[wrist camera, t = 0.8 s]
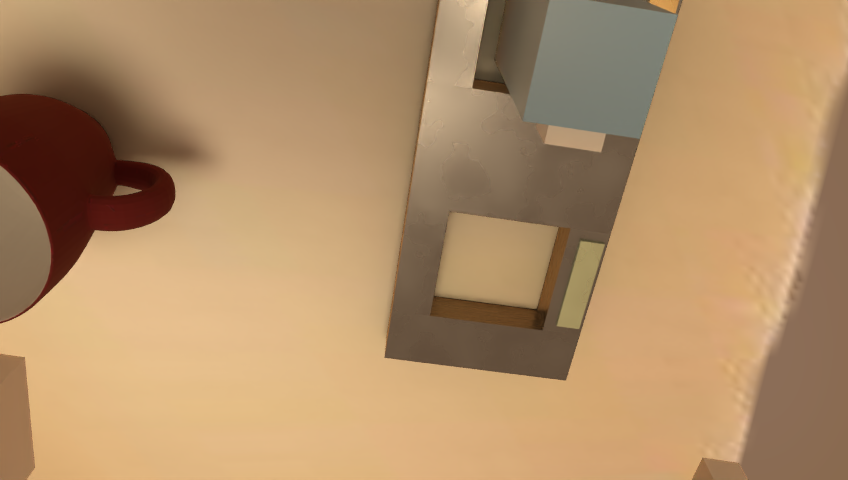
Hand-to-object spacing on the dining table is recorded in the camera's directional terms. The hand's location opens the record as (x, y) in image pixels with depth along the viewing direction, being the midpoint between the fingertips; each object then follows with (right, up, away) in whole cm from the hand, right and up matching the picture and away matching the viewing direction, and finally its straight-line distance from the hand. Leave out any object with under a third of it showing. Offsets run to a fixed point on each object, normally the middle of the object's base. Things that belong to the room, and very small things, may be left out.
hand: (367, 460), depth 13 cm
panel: (+6, +9, +20) cm, 22 cm away
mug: (-15, +9, +20) cm, 26 cm away
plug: (+7, +14, +17) cm, 23 cm away
